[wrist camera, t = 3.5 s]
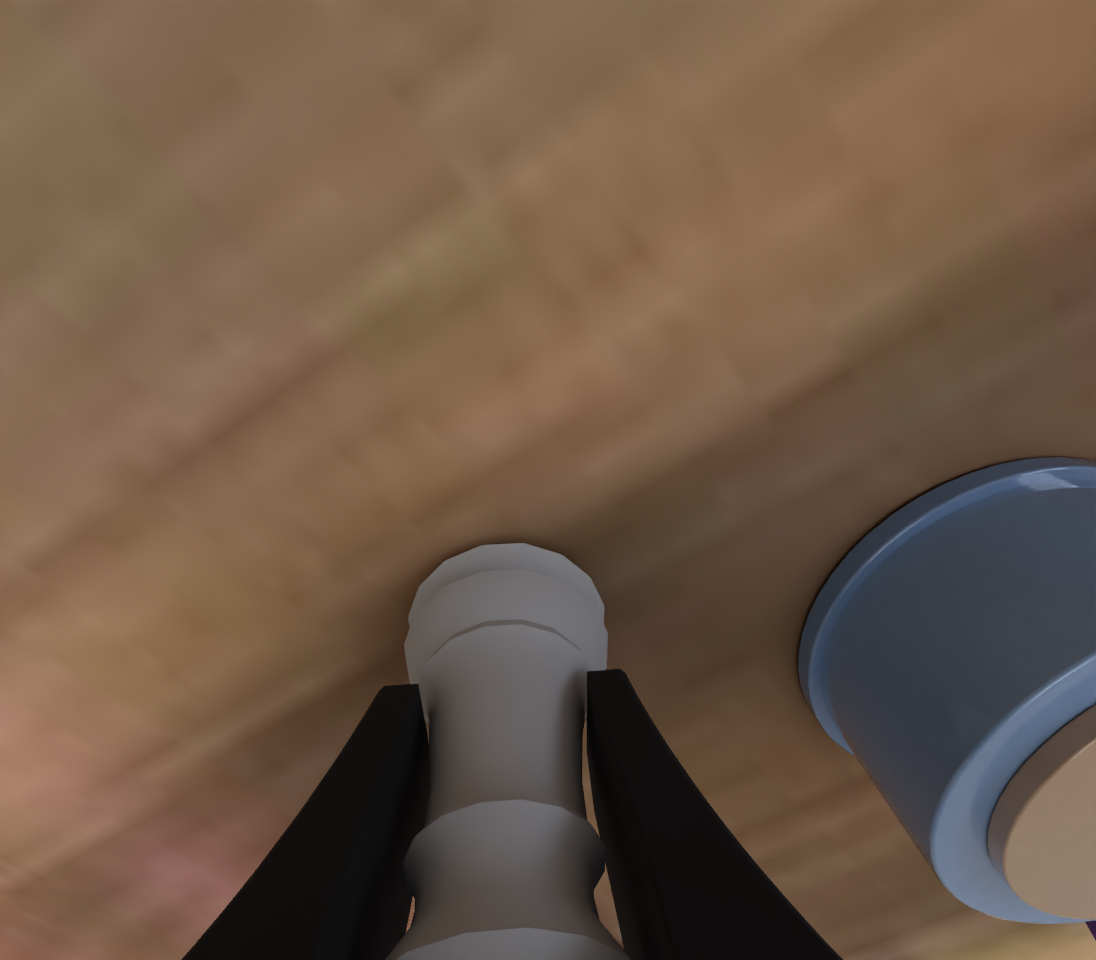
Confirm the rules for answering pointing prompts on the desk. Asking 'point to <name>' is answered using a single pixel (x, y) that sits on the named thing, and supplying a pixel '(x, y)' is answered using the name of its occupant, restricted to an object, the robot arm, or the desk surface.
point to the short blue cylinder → (975, 681)
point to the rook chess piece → (505, 760)
